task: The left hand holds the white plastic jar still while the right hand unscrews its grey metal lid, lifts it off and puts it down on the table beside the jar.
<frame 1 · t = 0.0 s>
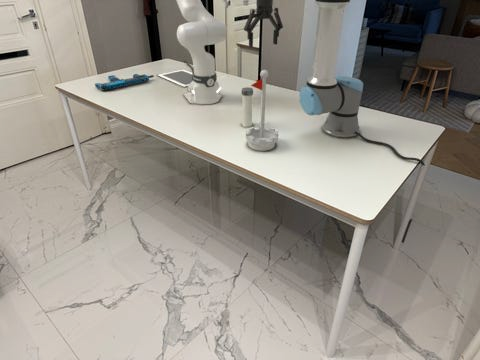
left hand: (236, 6, 135), 48 cm above the table, tool pointing down, fingers open, 8 cm apart
right hand: (263, 45, 167), 28 cm above the table, tool pointing down, fingers open, 13 cm apart
tablet: (183, 78, 216), on the table
submachine gun: (124, 82, 209), on the table
lid: (247, 89, 146), point 16 cm above the table, screwed on, not yet turned
jar: (247, 125, 155), on the table
flag stand: (261, 144, 139), on the table
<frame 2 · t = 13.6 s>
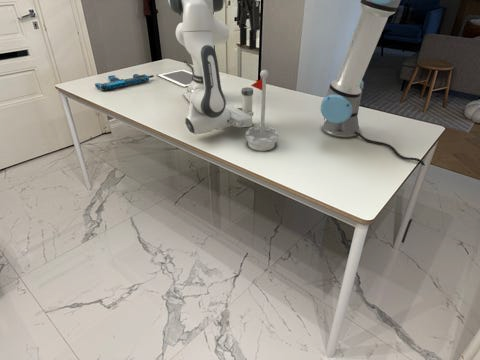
left hand: (248, 111, 152), 7 cm above the table, tool horizontal, fingers closed on jar, 4 cm apart
right hand: (247, 46, 137), 34 cm above the table, tool pointing down, fingers open, 7 cm apart
jar: (247, 125, 155), on the table, touching left hand
everything else where it was.
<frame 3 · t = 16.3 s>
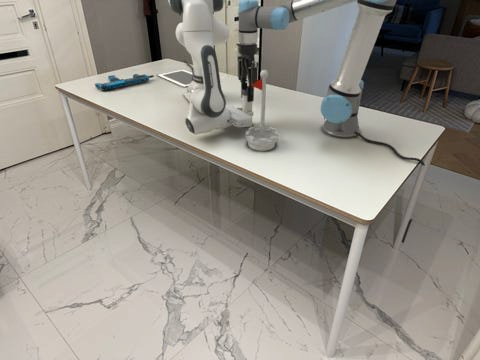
left hand: (248, 111, 152), 7 cm above the table, tool horizontal, fingers closed on jar, 4 cm apart
right hand: (247, 99, 148), 12 cm above the table, tool pointing down, fingers closed on lid, 5 cm apart
lid: (247, 90, 146), point 16 cm above the table, screwed on, not yet turned, touching right hand
jar: (247, 125, 155), on the table, touching left hand
everything else where it was.
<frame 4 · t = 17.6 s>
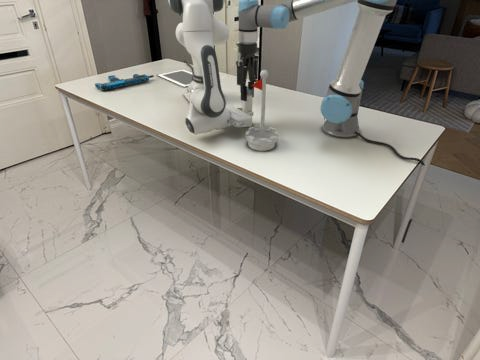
left hand: (248, 111, 152), 7 cm above the table, tool horizontal, fingers closed on jar, 4 cm apart
right hand: (247, 98, 148), 13 cm above the table, tool pointing down, fingers closed on lid, 5 cm apart
lid: (247, 89, 146), point 17 cm above the table, off its thread, touching right hand
jar: (247, 125, 155), on the table, touching left hand
everything else where it was.
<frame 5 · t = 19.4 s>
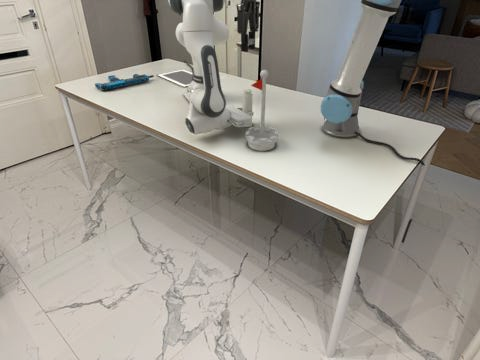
left hand: (248, 111, 152), 7 cm above the table, tool horizontal, fingers closed on jar, 4 cm apart
right hand: (248, 50, 137), 33 cm above the table, tool pointing down, fingers closed on lid, 5 cm apart
lid: (248, 39, 135), point 37 cm above the table, off its thread, touching right hand
jar: (247, 125, 155), on the table, touching left hand
everything else where it was.
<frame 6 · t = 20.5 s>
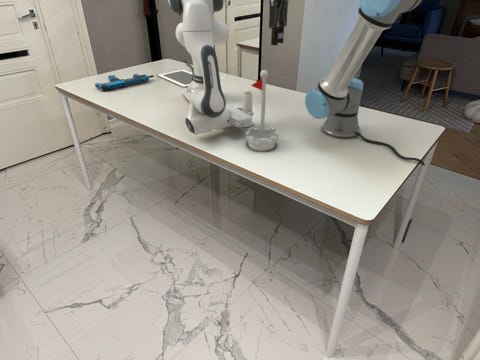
left hand: (248, 111, 152), 7 cm above the table, tool horizontal, fingers closed on jar, 4 cm apart
right hand: (277, 43, 144), 33 cm above the table, tool pointing down, fingers closed on lid, 5 cm apart
lid: (277, 33, 142), point 38 cm above the table, off its thread, touching right hand
jar: (247, 125, 155), on the table, touching left hand
everything else where it was.
when the right hand's fingers open (0 cm above the table, at t = 24.9 s): lid drops 3 cm, point 2 cm above the table.
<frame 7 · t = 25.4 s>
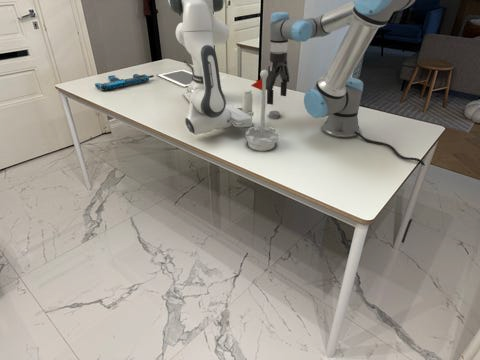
left hand: (248, 111, 152), 7 cm above the table, tool horizontal, fingers closed on jar, 4 cm apart
right hand: (276, 99, 158), 9 cm above the table, tool pointing down, fingers open, 13 cm apart
lid: (274, 113, 163), point 2 cm above the table, off its thread
jar: (247, 125, 155), on the table, touching left hand
everything else where it was.
when the left hand's fingers open (7 cm above the table, at t = 25.5 s): jar stays where it is, on the table.
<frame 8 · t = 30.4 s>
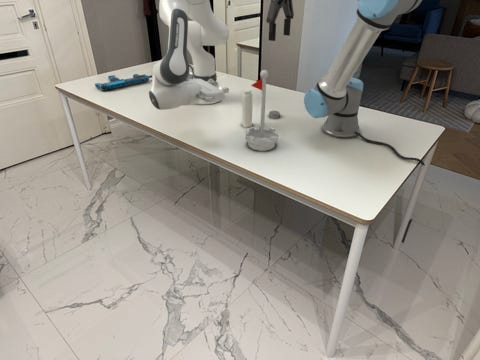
left hand: (222, 86, 139), 20 cm above the table, tool horizontal, fingers open, 8 cm apart
right hand: (279, 37, 144), 36 cm above the table, tool pointing down, fingers open, 13 cm apart
jar: (247, 125, 155), on the table
everything else where it was.
at the end: lid came off its thread; lid point 1.7 cm above the table; the left hand is holding nothing; the right hand is holding nothing; jar tilted 0°; jar moved 0.0 cm from its start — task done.
